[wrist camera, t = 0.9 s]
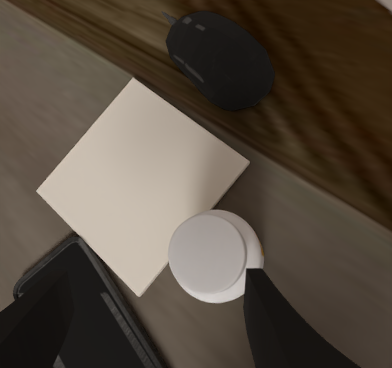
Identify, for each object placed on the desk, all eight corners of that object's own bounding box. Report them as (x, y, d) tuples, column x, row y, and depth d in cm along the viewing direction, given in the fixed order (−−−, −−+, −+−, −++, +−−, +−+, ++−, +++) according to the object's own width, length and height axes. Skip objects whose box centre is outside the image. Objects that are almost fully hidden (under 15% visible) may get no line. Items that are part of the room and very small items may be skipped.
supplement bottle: (201, 218, 27) (165, 193, 17) (268, 228, 25) (266, 207, 16) (190, 285, 26) (144, 296, 16) (259, 300, 24) (251, 321, 15)
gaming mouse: (184, -8, 33) (173, -43, 29) (289, 79, 28) (292, 50, 25) (138, 33, 33) (121, 3, 29) (235, 127, 28) (230, 106, 25)
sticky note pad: (250, 163, 27) (249, 161, 26) (140, 296, 26) (138, 296, 26) (135, 80, 31) (133, 77, 31) (39, 192, 31) (36, 191, 30)
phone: (96, 461, 23) (8, 288, 28) (103, 453, 24) (18, 287, 29) (179, 392, 23) (77, 230, 28) (183, 386, 24) (84, 231, 29)
